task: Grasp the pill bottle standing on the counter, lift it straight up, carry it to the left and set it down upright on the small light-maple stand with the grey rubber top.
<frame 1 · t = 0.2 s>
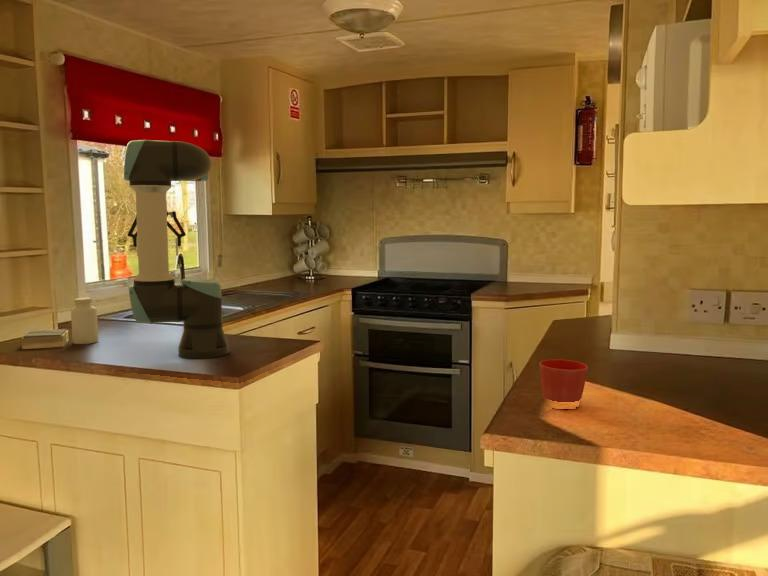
hand: (157, 255, 242), 28 cm above the countertop, fingers open, 13 cm apart
stand: (46, 344, 217), on the countertop
flower pot: (561, 406, 149), on the countertop
pill bottle: (85, 342, 221), on the countertop
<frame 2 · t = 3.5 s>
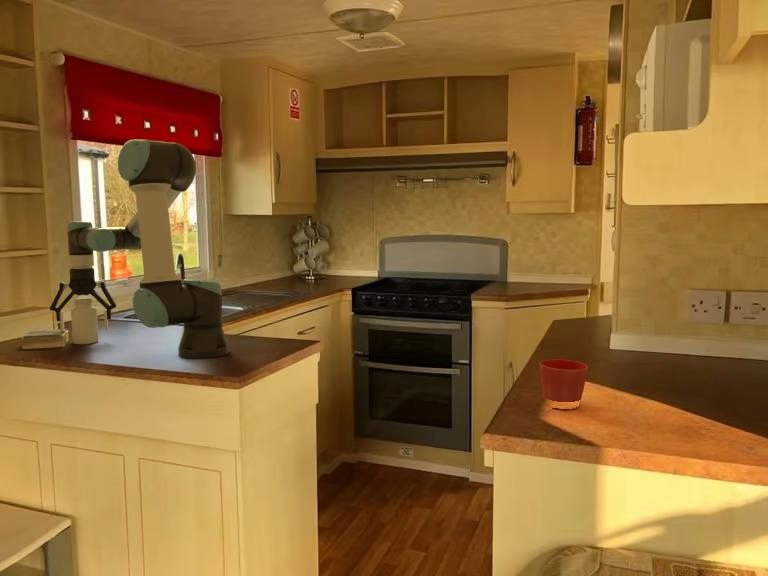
hand: (84, 330, 220), 4 cm above the countertop, fingers open, 13 cm apart
nothing on the countertop moved.
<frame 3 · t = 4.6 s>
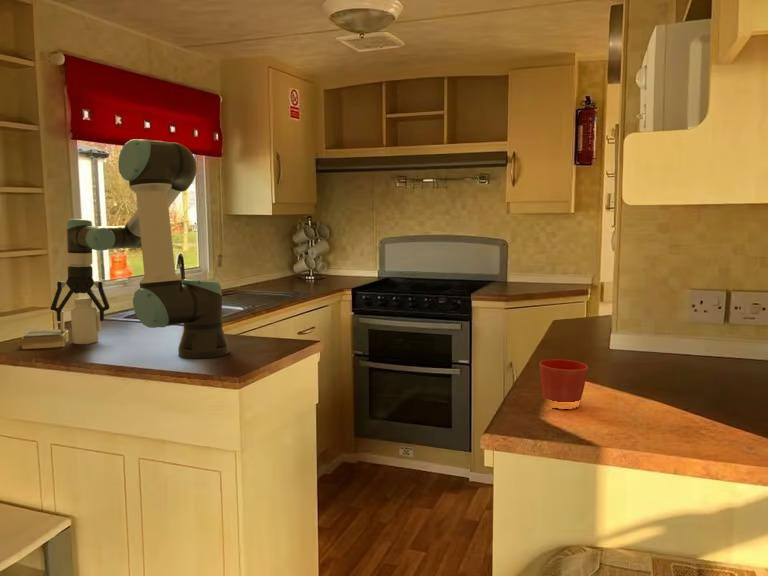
hand: (81, 330, 220), 4 cm above the countertop, fingers open, 10 cm apart
nothing on the countertop moved.
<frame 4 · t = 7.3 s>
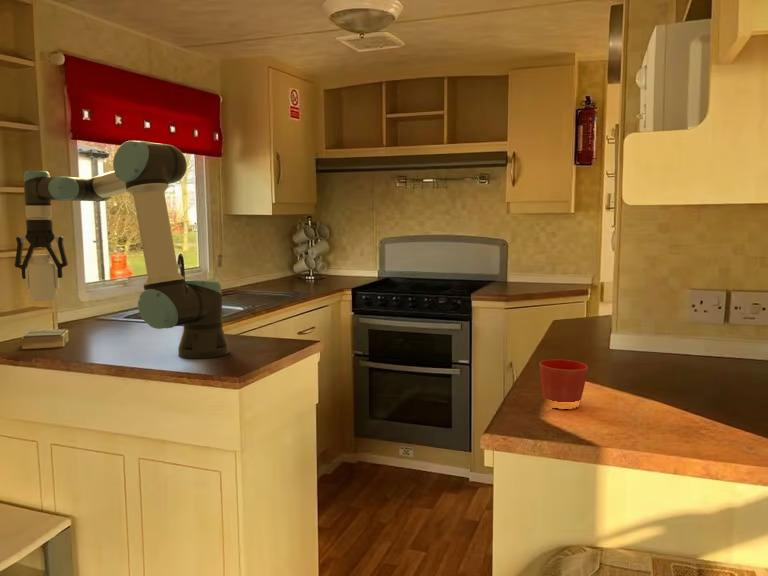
hand: (43, 288, 215), 19 cm above the countertop, fingers closed on pill bottle, 8 cm apart
pill bottle: (43, 300, 215), point 15 cm above the countertop, touching gripper
everything else where it was.
when the fingers open (8 cm above the countertop, at t = 9.6 s): pill bottle stays where it is, resting on stand.
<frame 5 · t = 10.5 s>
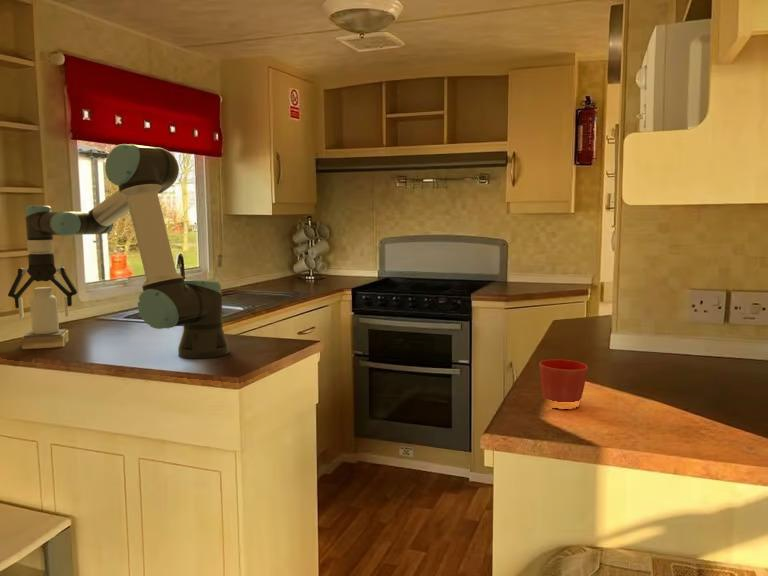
hand: (44, 317, 216), 9 cm above the countertop, fingers open, 13 cm apart
pill bottle: (45, 333, 217), point 4 cm above the countertop, touching stand
everything else where it was.
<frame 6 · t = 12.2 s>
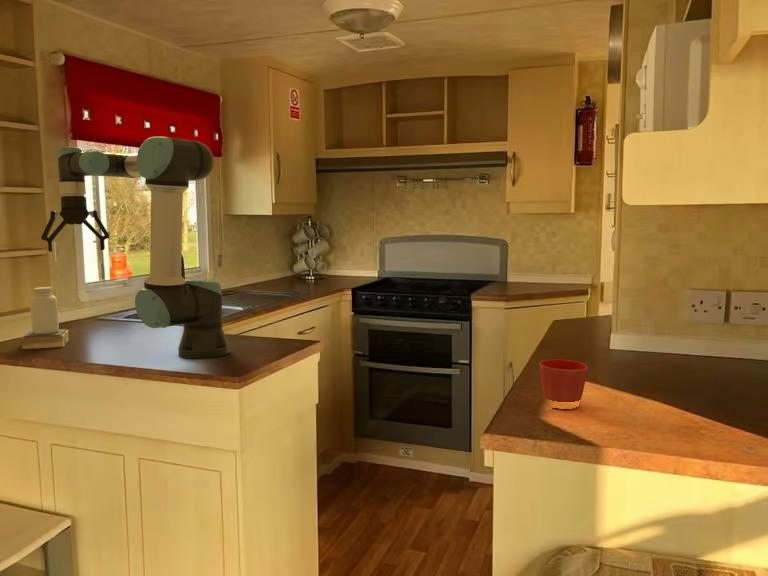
hand: (77, 261, 214), 28 cm above the countertop, fingers open, 13 cm apart
nothing on the countertop moved.
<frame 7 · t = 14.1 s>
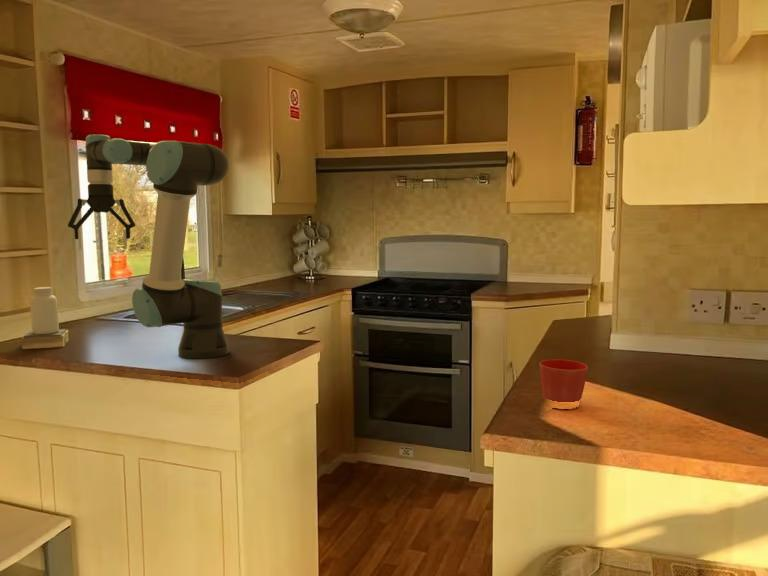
hand: (103, 249, 214), 32 cm above the countertop, fingers open, 13 cm apart
nothing on the countertop moved.
at the end: pill bottle inside the target area on the stand (0.2 cm from its centre), point 3.8 cm above the stand's base; pill bottle tilted 0°; the gripper is holding nothing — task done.
